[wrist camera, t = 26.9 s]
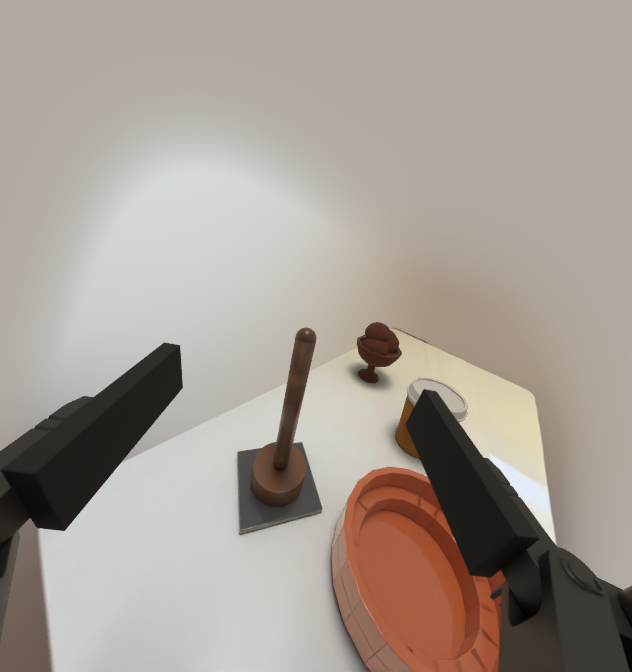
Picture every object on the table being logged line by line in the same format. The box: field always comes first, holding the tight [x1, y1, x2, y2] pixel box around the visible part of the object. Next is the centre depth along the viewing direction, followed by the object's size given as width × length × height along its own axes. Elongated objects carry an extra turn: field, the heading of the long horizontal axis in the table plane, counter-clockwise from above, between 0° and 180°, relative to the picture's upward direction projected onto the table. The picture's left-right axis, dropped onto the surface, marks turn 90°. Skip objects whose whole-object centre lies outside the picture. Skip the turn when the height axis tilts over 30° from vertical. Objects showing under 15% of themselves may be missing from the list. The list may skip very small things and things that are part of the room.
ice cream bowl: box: [357, 322, 402, 383], centre depth 57 cm, size 11×11×15 cm
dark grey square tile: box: [237, 442, 322, 534], centre depth 32 cm, size 10×10×1 cm
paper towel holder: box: [251, 328, 316, 506], centre depth 27 cm, size 7×7×23 cm
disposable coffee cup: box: [395, 377, 468, 458], centre depth 40 cm, size 10×10×12 cm
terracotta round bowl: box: [331, 467, 506, 672], centre depth 24 cm, size 17×17×6 cm
